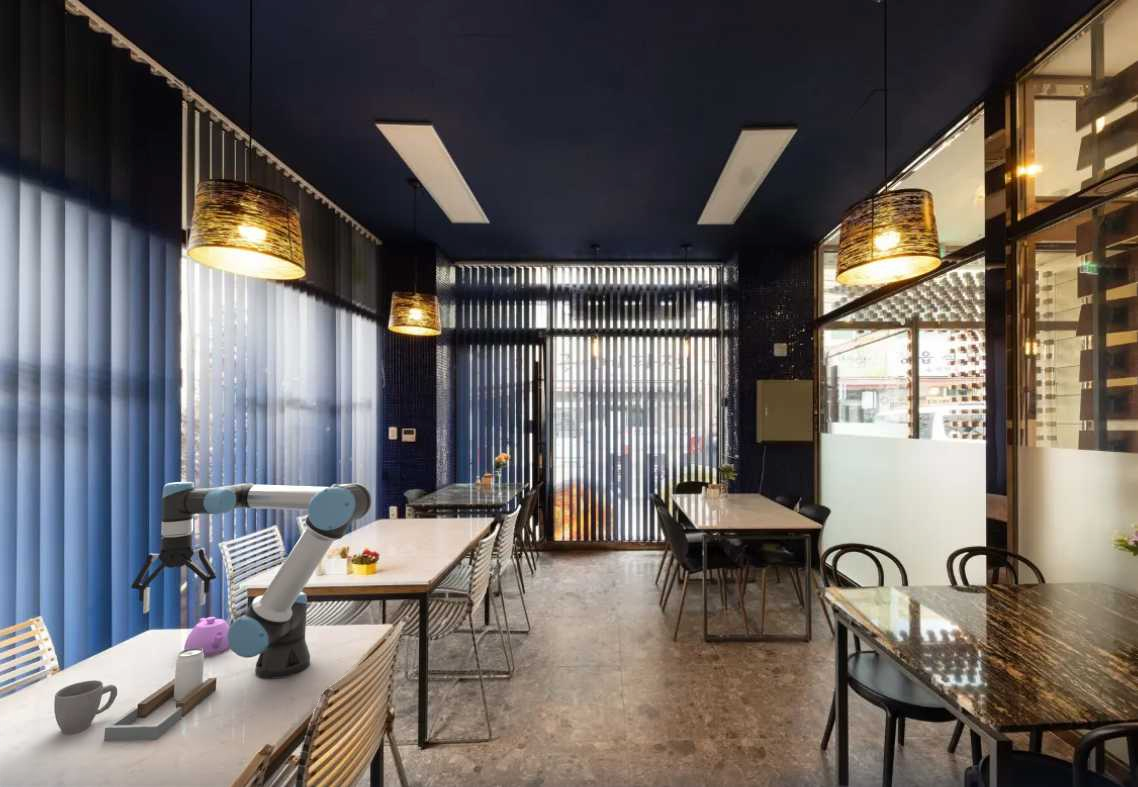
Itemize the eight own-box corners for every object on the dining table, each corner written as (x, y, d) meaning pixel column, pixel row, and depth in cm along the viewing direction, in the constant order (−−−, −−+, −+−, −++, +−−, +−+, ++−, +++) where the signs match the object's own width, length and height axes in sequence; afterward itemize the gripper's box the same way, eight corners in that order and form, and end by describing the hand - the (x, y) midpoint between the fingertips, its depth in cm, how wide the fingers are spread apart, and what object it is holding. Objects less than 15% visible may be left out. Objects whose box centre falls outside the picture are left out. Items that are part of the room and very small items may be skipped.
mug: (57, 743, 124) (60, 701, 125) (47, 731, 129) (50, 690, 129) (121, 720, 134) (124, 681, 135) (109, 709, 139) (112, 672, 139)
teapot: (194, 666, 165) (196, 631, 166) (176, 648, 178) (178, 616, 178) (243, 652, 175) (245, 619, 176) (223, 636, 188) (224, 606, 189)
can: (186, 703, 142) (189, 658, 143) (167, 700, 144) (170, 655, 145) (207, 691, 149) (210, 648, 150) (188, 689, 150) (191, 646, 151)
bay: (181, 719, 135) (182, 707, 135) (156, 739, 126) (157, 726, 126) (132, 720, 134) (133, 708, 134) (103, 740, 125) (104, 727, 125)
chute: (215, 690, 150) (216, 677, 150) (183, 717, 136) (184, 703, 136) (173, 691, 149) (174, 678, 149) (136, 718, 135) (137, 703, 135)
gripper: (228, 528, 164) (227, 597, 163) (128, 537, 153) (125, 611, 152) (224, 532, 157) (223, 604, 156) (119, 541, 147) (116, 619, 145)
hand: (175, 608), depth 154 cm, fingers open, 13 cm apart
